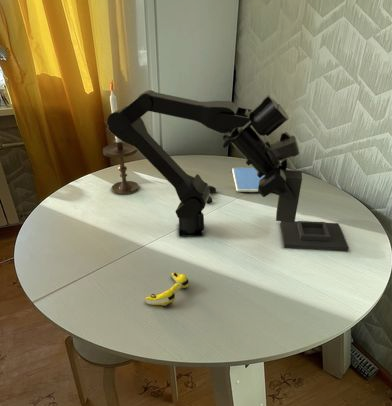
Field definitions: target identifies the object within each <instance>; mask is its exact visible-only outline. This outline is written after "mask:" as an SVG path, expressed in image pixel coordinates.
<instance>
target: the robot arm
mask: <svg viewBox="0 0 392 406" xmlns="http://www.w3.org/2000/svg"><path fill="white" fill-rule="evenodd" d="M149 112H151V113H157V114H161V115H165V116H170V117H175V118H179V119H184V120H188V121H189V120H190V121H194V122H197V123H199V124H201V125H203V126H204V127H206V128H207V129H210V130H212V131H215V132H217V133H220V134H223V136H222V139H223V145H222V148H223V149H226V148H227V147H228V146H230V145H231V144H232V145H233V146H234V147H235V149H236V150H237V151H238V152H239V153H240V154H241V155H242V156H243V157H244V159H245V160H246V161H245V163H246V165H247V166H250V165H251V166H252V168H255V170H256V171H257V172H258V173H257V176H258V177H259V178H261V177H262V176H263V175H265V176H264V177H263V178H262V179H260V181H259V187H258V192H257V193H259V194H260V195H261V197H262V198H266V197H267V196H269V195H270V194H273V195H276V196H278V197H279V196H281V197H284V198H287V199H289V200H292V201H293V200H295V199H296V196H295V195H294V193H293V191H292V190H291V188H290V187H289V185H288V183H287V182H286V179H287V172H286V173H285V174H284V172H283V171H282V170H287V166H288V158H291V157H292V158H294V157H296V156H299V155H300V148H299V145H298V141H297V138H296V136H295V135H294V134H293V135H291V134H289V133H288V132H287V131H284V132H282V133H280V137H279V140H277V141H276V142H273V143H272V142H270V141H269V140H264V139H263V138H262V137H261V136H263V137H264V136H266V137H269V136H270V135H272V133H274V132H275V131H276V130H277V129H279V128H281V126H282V125H283V124H284V123H286V122H287V121H288V120H289V119H290V118H289V116H288V114H287V112H286V111H285V109H284V108H283V106H282V105H281V104H280V103H279V102H277V101H276V100H275V99H273V98H272V96H270V95H269V94H268V95H266V96H265V97H264V98H263V99H262V100H261V102H260V103H259V104H258V105H257V106H256V107H255V108H253V109H251V108H245V107H241V106H237V104H236V103H234V102H233V101H231V100H210V101H199V100H194V99H189V98H184V97H180V96H175V95H171V94H165V93H161V92H157V91H154V90H152V89H148V90H145V91H144V92H142V93H141V94H139V95H138V96H137V98H136V99H135V100H133V101H132V102H131V103H130V104H128V105H124V106H121V107H119V108H118V110H116V111H115V112H113V113H112V112H111V113H110V114H109V115H108V116H107V120H106V125H107V129H108V131H109V132H110V134H112V135H113V136H114V137H115V136H116V137H117V138H118V139H120V140H121V141H122V143H127V144H129V145H132V146H134V147H135V148H136V149H137V152H139V153H140V155H142V156H143V157H144V158H145V160H147V161H148V162H149V163H150V165H152V166H153V167H154V169H156V170H157V171H158V172H159V174H161V175H162V176H163V178H164V179H165V180H167V182H168V183H169V184H170V185H171V186H172V187H173V188H174V190H175V192H176V195H177V197H178V200H179V201H180V202H179V204H178V206H177V208H176V210H175V211H174V212H175V214H176V217H177V219H178V236H179V237H182V238H183V237H202V236H203V231H205V216H204V213H203V212H202V211H204V209H205V207H206V205H207V204H208V203H207V200H208V198H209V195H210V194H211V193H210V191H209V188H208V187H207V186H209V183H207V182H205V181H204V180H203V179H202V177H201V176H200V175H199V174H197V173H196V174H195V176H192V175H189V174H188V173H187V172H185V170H184V169H183V168H182V167H181V166H180V165H179V164H178V163H177V162H176V161H175V160H174V159H173V158H172V157H171V156H170V155H169V154H168V153H167V151H165V149H164V148H163V147H162V146H161V145H160V144H159V143H158V142H157V141H156V140H155V139H154V138H153V137H152V135H151V134H150V133H149V131H148V130H147V127H146V124H145V122H144V120H143V119H142V118H141V117H143V116H144V115H146V114H147V113H149ZM210 196H211V195H210Z"/></svg>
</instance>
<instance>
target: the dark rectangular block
mask: <svg viewBox="0 0 392 406" xmlns="http://www.w3.org/2000/svg"><path fill="white" fill-rule="evenodd" d="M282 171H283V172H284V174H285V173H286V172H287V179H286V182H287V183H288V185H289V187H290V188H291V190H292V191H293V193H294V195H295V196H296V199H295V200H293V201H292V200H289V199H287V198H284V197H281V196H279V195H278V198H277V205H276V213H275V221H276V222H281V221H283V222H293V223H294V222H295V221H296V217H297V212H298V211H297V210H298V206H299V199H300V194H301V188H302V182H303V172H302V170H293V169H286V170H282Z"/></svg>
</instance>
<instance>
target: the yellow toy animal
mask: <svg viewBox="0 0 392 406" xmlns="http://www.w3.org/2000/svg"><path fill="white" fill-rule="evenodd" d="M171 277H172V279H173V281H175V283H174V284H173V286H172V287H170V288H169V289H168V290H165V291H163V292H162V293H159V294H154V293H152V294H151V295H149V296H147V297H145V298H144V299H145V300H144V301H145V302H146V304H147V305H151V306H162V307H163V306H165V307H167V306H168V305H171V304H173V302H174V301H175V299H176V294H177V293H178V291H179V290H180V289H185V288H188V286H189V283H190V281H189V279H188V277H187V276H186V274H184V273H177V272H172V273H171Z"/></svg>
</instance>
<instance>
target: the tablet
mask: <svg viewBox="0 0 392 406" xmlns="http://www.w3.org/2000/svg"><path fill="white" fill-rule="evenodd" d="M231 171H232V175H233V181H234V185H235V190H236V191H237V192H239V193H241V192H243V193H248V192H249V193H259V192H258V187H259V181H260V179H262V178H263V177H264V176H265V175H263V176H262V177H261V178H259V177H258V176H257V173H258V172H257V171H256V170H255V168H254V167H233V168H232V169H231Z"/></svg>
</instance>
